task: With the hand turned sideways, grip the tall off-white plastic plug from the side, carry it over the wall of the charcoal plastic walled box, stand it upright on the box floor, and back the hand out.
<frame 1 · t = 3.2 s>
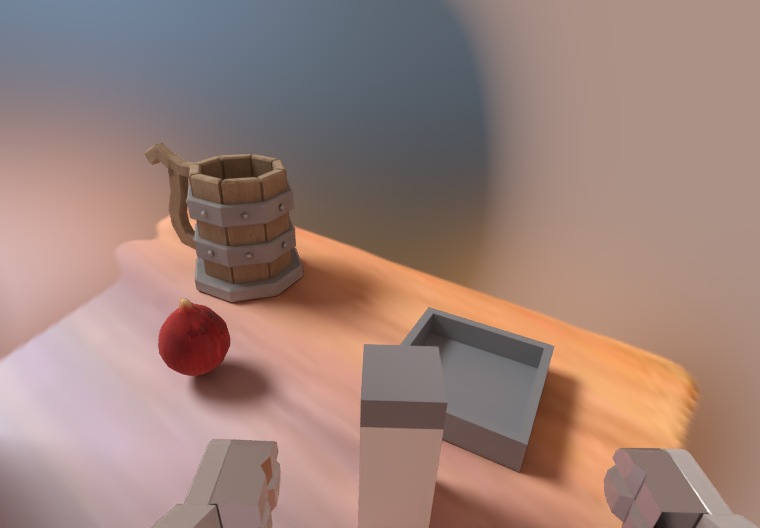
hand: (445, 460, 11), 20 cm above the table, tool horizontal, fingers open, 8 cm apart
walled box: (464, 388, 41), on the table
onion: (201, 373, 42), on the table
tankard: (228, 268, 59), on the table
plug: (392, 503, 31), on the table
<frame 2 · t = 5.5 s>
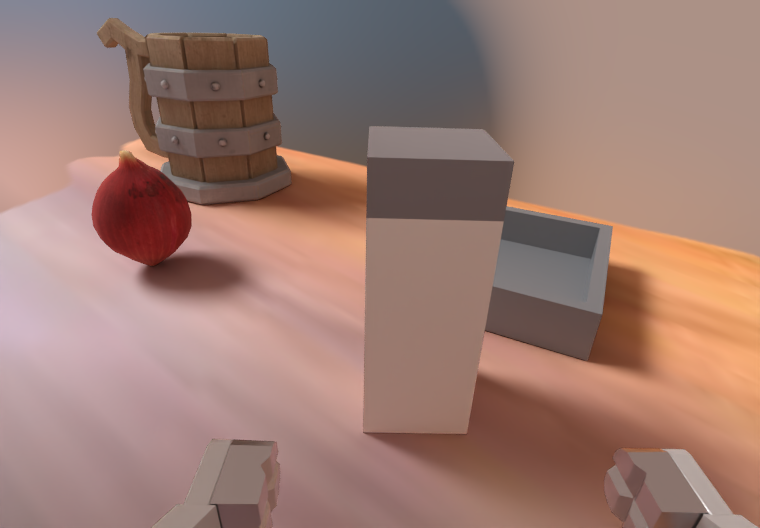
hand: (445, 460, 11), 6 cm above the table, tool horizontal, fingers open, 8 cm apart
walled box: (498, 279, 31), on the table
onion: (156, 266, 32), on the table
tankard: (202, 178, 49), on the table
plug: (411, 395, 21), on the table
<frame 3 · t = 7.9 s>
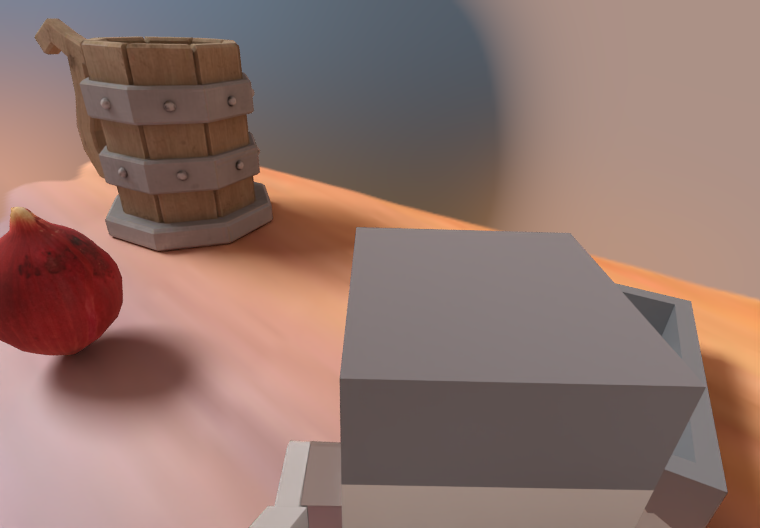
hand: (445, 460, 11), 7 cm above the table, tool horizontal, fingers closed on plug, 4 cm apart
walled box: (539, 375, 23), on the table
onion: (77, 353, 24), on the table
tankard: (166, 211, 41), on the table
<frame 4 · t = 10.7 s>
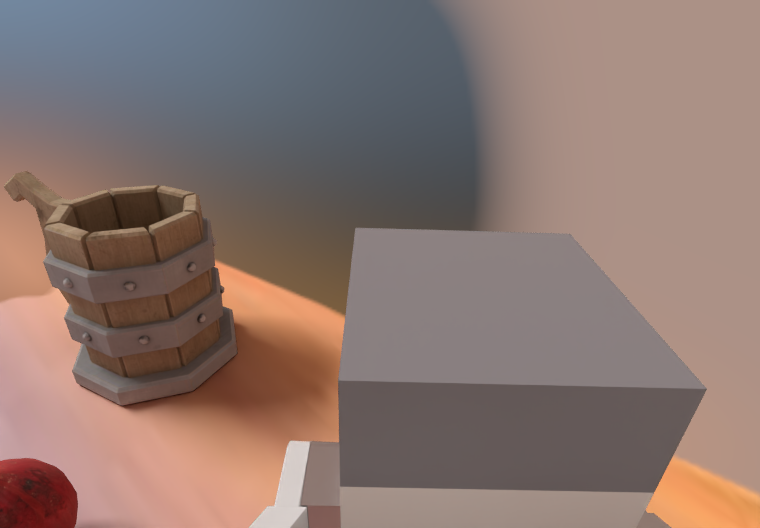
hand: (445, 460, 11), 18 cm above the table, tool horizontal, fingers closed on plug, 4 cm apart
tankard: (135, 340, 42), on the table
when the fingers open (8 cm above the table, at t = 14.0 s): plug drops 1 cm, resting on walled box.
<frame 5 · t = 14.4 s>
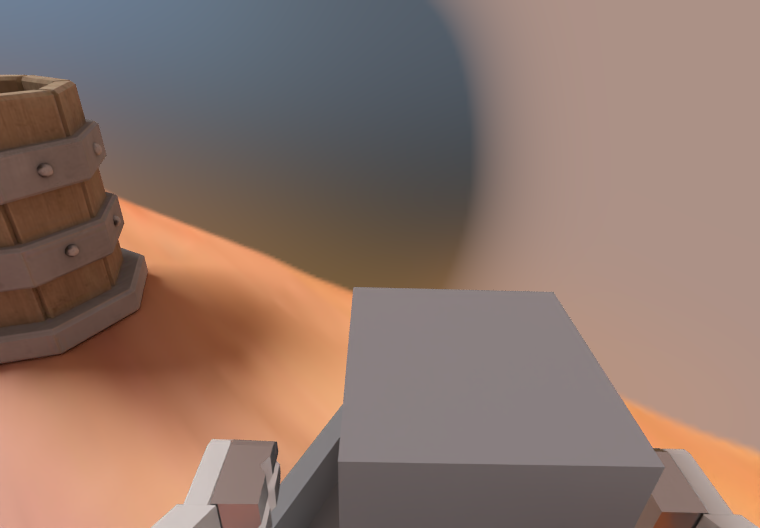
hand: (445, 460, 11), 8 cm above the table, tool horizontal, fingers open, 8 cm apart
tankard: (11, 293, 32), on the table
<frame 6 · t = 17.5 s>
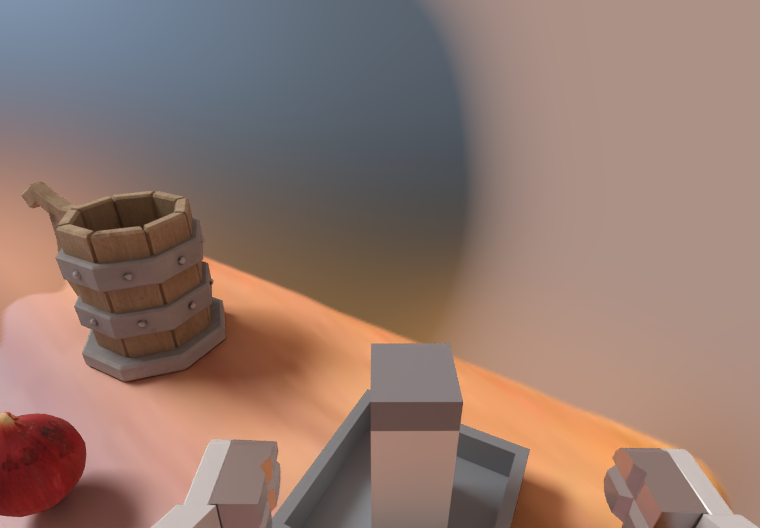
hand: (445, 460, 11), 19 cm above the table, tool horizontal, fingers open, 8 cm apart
walled box: (406, 515, 30), on the table
onion: (52, 502, 31), on the table
tankard: (137, 329, 48), on the table
plug: (406, 510, 30), resting on walled box
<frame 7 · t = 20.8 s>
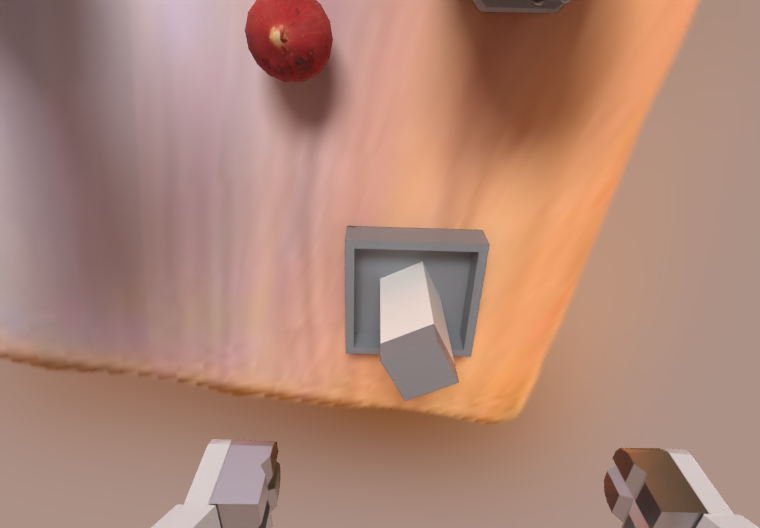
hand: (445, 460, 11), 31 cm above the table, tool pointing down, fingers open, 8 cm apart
walled box: (410, 285, 45), on the table
onion: (298, 34, 34), on the table
plug: (410, 288, 44), resting on walled box
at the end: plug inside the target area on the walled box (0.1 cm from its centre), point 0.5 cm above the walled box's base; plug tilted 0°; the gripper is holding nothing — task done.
